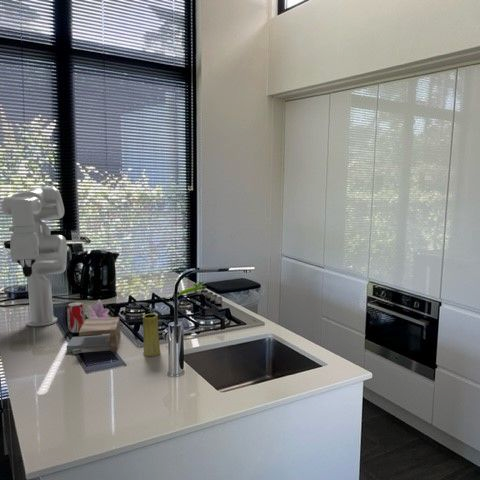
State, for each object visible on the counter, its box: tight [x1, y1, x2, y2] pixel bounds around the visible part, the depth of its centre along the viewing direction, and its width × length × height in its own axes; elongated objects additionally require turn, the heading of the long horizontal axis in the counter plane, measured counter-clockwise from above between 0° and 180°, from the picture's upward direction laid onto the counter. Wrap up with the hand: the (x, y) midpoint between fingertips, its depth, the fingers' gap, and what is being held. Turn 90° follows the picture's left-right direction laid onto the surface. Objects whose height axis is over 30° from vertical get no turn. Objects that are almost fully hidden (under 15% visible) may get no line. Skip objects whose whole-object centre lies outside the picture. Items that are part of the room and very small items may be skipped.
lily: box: [88, 299, 110, 319], centre depth 203 cm, size 12×12×10 cm
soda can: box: [66, 301, 86, 334], centre depth 192 cm, size 7×7×12 cm
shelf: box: [72, 316, 121, 355], centre depth 175 cm, size 16×16×8 cm
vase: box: [142, 313, 161, 357], centre depth 165 cm, size 6×6×14 cm
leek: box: [162, 281, 207, 300], centre depth 251 cm, size 6×7×30 cm
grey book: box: [66, 334, 111, 353], centre depth 174 cm, size 10×16×3 cm, turn 98°
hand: (27, 276), depth 179 cm, fingers closed
